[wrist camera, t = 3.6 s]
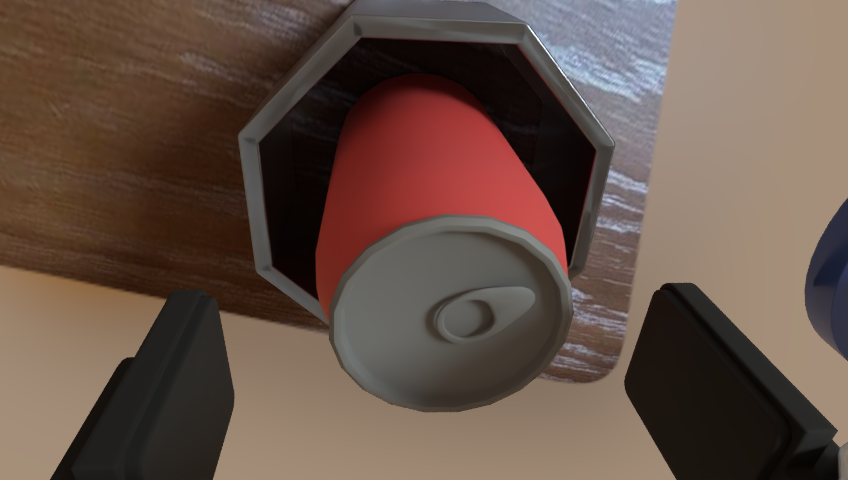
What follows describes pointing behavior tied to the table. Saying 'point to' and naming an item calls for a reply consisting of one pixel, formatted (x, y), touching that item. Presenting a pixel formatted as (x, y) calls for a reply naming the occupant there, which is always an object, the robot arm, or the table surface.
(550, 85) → the black octagonal pot
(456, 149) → the beer can
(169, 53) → the table surface
